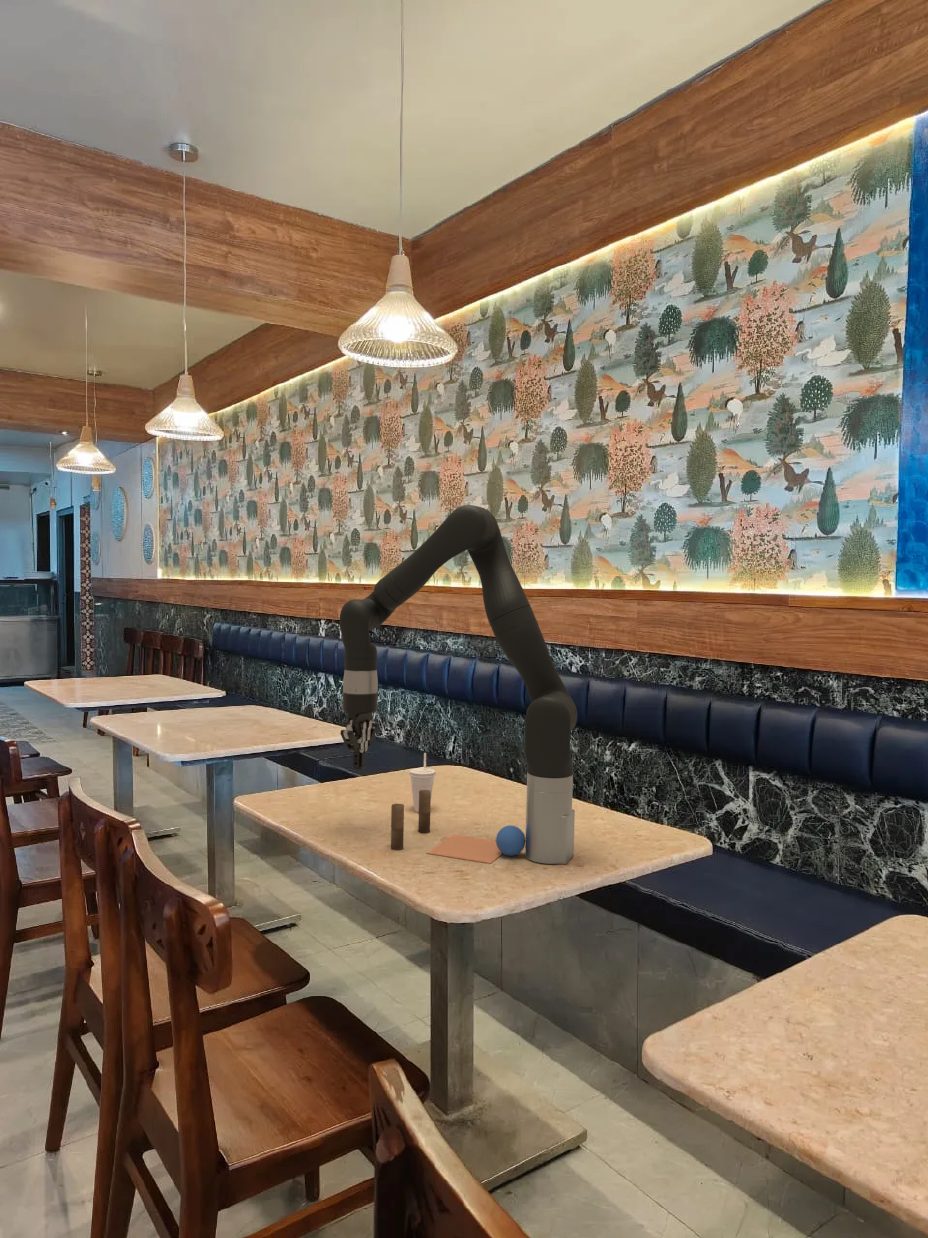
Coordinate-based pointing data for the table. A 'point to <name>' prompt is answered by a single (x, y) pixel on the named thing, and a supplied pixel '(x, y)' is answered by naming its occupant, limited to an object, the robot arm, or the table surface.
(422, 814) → the right post
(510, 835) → the ball
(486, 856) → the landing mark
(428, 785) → the smoothie
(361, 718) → the robot arm
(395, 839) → the left post
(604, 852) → the table surface
